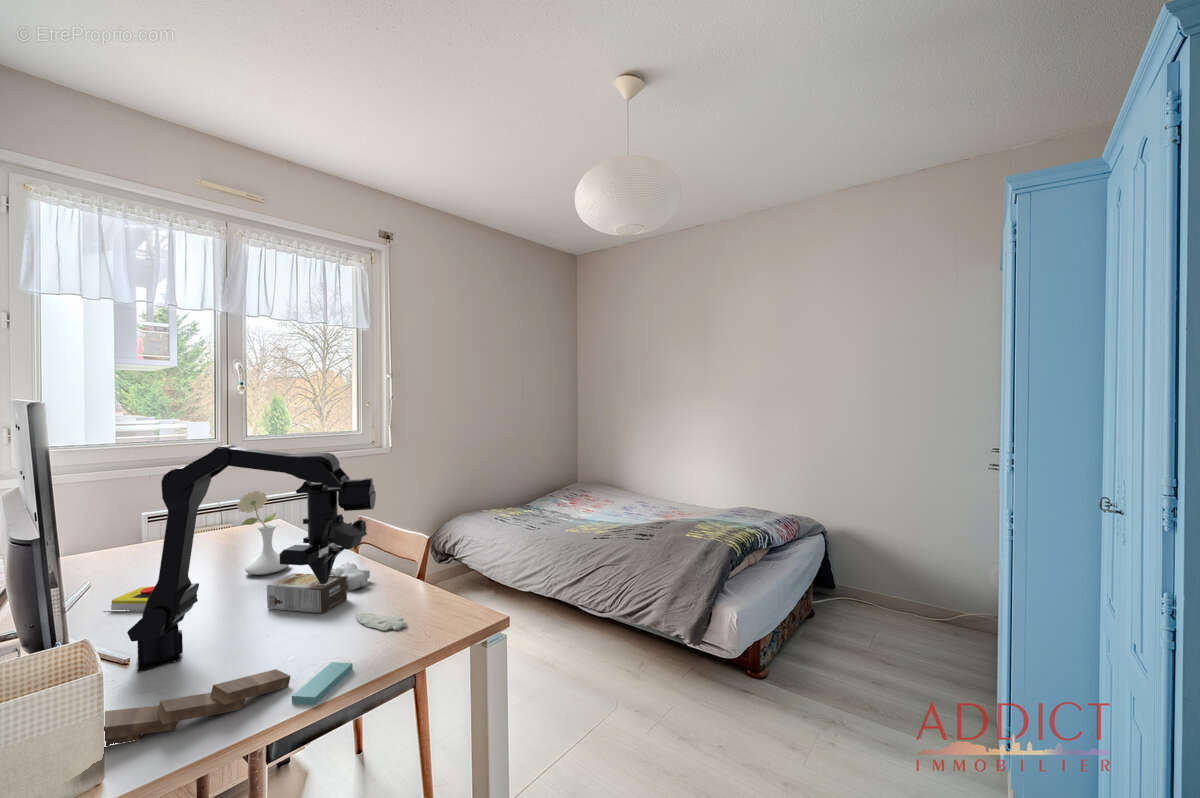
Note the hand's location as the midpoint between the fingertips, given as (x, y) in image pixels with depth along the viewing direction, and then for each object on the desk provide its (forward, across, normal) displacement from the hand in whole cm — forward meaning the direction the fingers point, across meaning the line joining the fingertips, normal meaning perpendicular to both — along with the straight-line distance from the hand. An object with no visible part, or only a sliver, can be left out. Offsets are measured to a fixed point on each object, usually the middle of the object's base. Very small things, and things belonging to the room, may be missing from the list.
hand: (323, 583), depth 110 cm
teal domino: (+13, -9, -10) cm, 19 cm away
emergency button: (+14, +13, +60) cm, 63 cm away
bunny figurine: (+13, +32, +16) cm, 38 cm away
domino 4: (+12, -15, -2) cm, 19 cm away
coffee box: (+10, +18, +26) cm, 33 cm away
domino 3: (+12, -21, 0) cm, 25 cm away
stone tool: (+14, +10, -6) cm, 18 cm away
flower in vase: (+13, +37, +47) cm, 61 cm away
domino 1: (+12, -28, +6) cm, 31 cm away
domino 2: (+12, -30, +10) cm, 34 cm away
